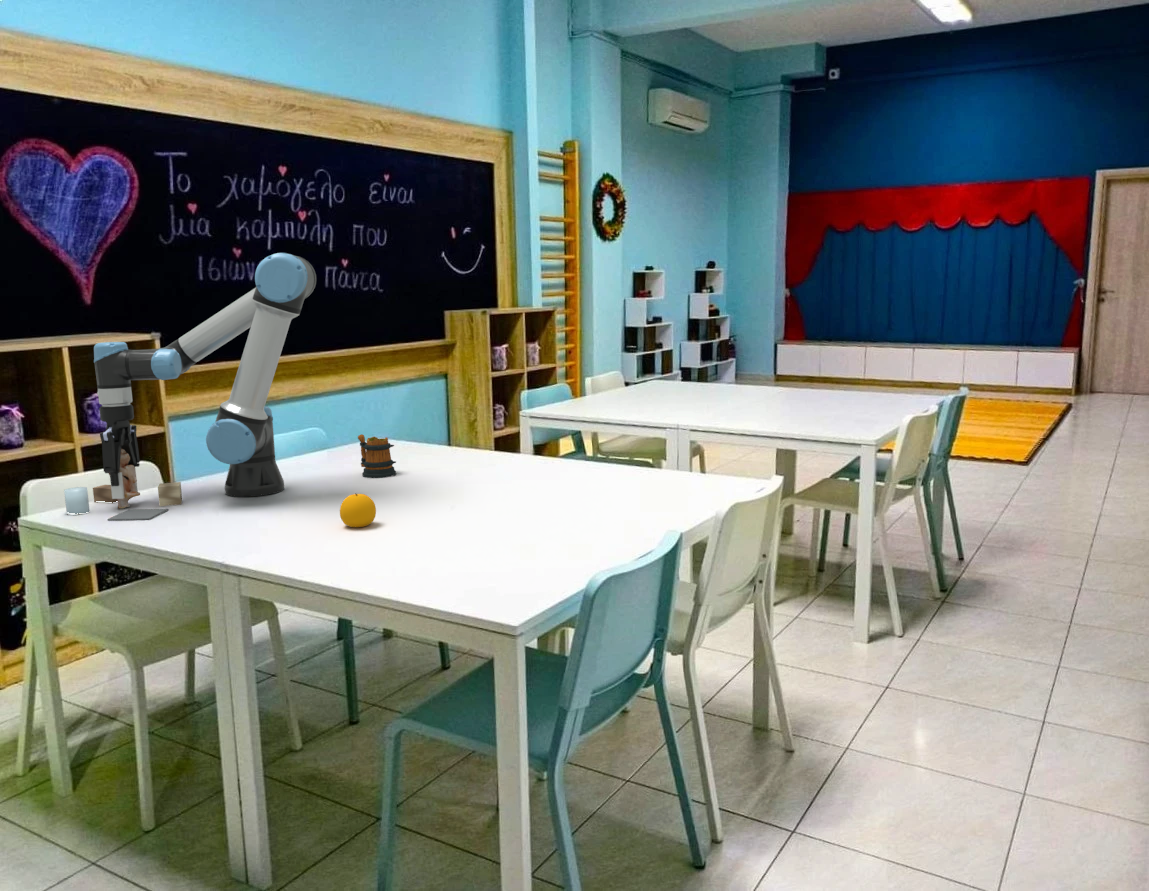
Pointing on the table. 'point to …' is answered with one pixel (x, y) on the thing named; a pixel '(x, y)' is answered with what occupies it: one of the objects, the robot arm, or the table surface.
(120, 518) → the grey mat
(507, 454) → the table surface
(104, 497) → the walnut block
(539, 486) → the table surface
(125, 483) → the figurine
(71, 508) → the pale blue rounded block
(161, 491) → the beech block
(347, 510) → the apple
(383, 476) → the mug
